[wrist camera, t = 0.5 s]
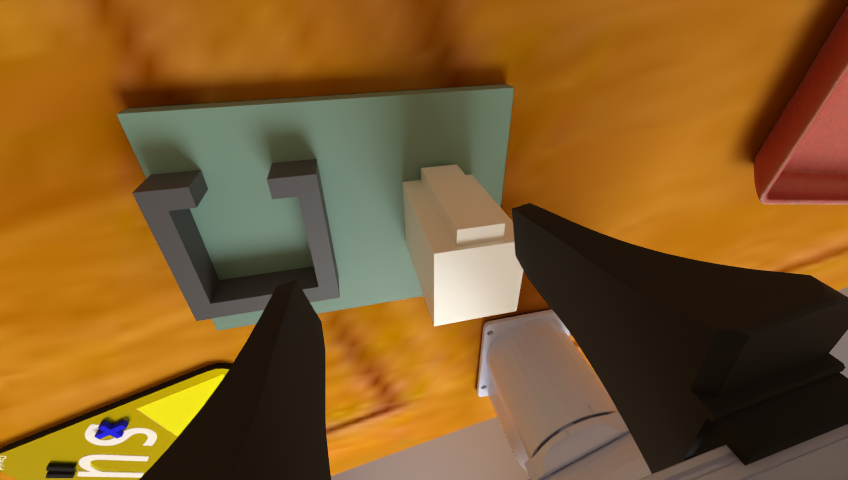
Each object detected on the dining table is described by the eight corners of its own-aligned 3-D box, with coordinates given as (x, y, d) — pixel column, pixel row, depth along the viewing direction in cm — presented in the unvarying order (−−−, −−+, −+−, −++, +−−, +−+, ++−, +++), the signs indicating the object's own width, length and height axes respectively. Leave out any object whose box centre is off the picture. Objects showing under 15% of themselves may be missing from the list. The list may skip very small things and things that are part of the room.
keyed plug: (468, 233, 23) (516, 311, 17) (405, 242, 22) (433, 326, 16) (472, 160, 20) (531, 223, 15) (401, 168, 20) (434, 236, 14)
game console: (228, 347, 26) (223, 364, 24) (307, 422, 32) (306, 438, 31) (-12, 447, 25) (-28, 469, 24) (115, 502, 32) (107, 522, 31)
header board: (487, 275, 27) (503, 303, 24) (220, 318, 23) (208, 356, 21) (506, 84, 19) (532, 95, 17) (126, 108, 16) (91, 127, 14)
